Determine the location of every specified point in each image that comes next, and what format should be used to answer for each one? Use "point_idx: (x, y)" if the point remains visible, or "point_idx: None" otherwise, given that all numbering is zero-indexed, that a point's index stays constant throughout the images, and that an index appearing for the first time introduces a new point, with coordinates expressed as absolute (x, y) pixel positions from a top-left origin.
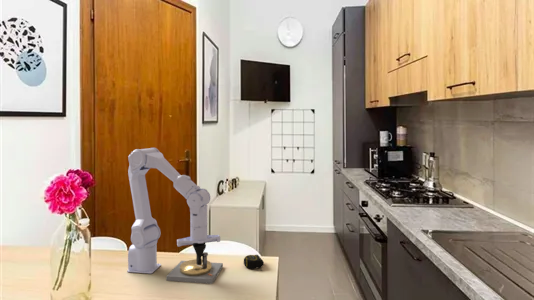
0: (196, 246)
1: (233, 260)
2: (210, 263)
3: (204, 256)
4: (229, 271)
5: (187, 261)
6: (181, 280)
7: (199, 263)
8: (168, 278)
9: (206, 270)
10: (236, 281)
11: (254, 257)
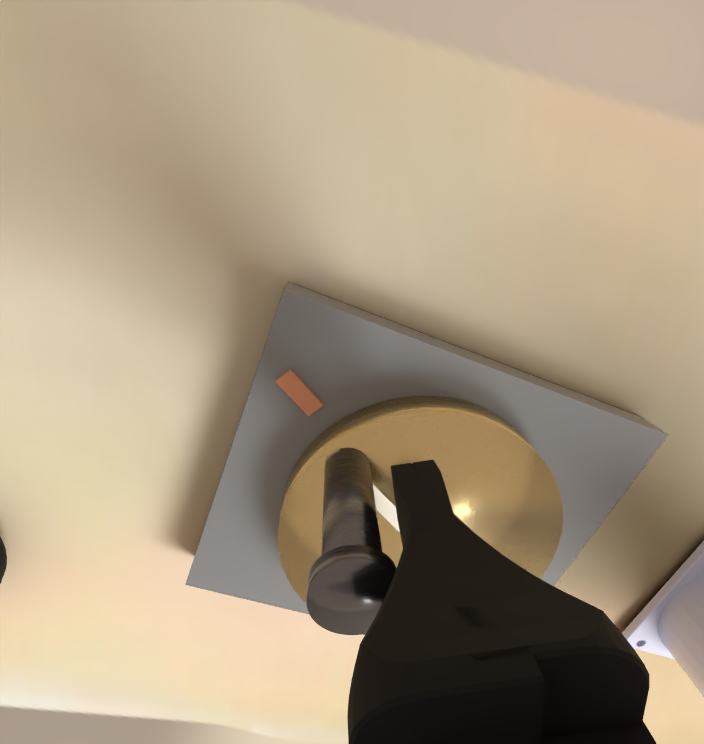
0: (585, 704)
1: (117, 642)
2: (286, 554)
3: (358, 549)
4: (138, 483)
5: None
6: (540, 381)
7: (416, 468)
8: (640, 419)
9: (331, 439)
10: (60, 285)
11: None
